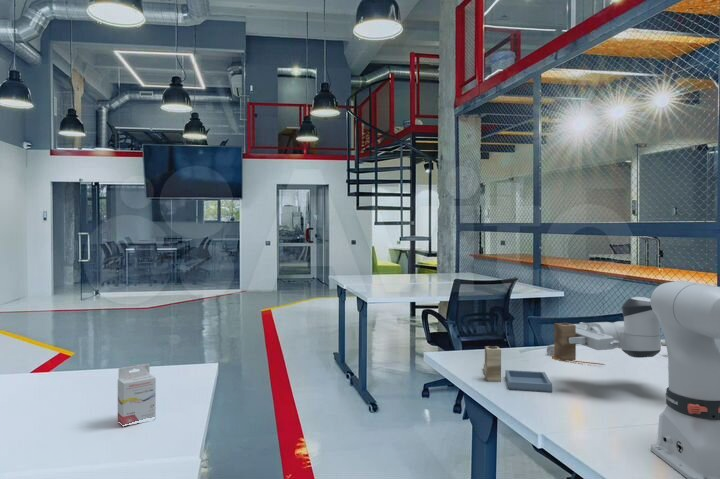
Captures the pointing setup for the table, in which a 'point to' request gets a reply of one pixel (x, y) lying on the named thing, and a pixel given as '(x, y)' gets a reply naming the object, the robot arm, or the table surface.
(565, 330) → the walnut block
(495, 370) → the oak block
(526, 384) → the tray
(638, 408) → the table surface
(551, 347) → the motor
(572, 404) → the table surface
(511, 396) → the table surface
